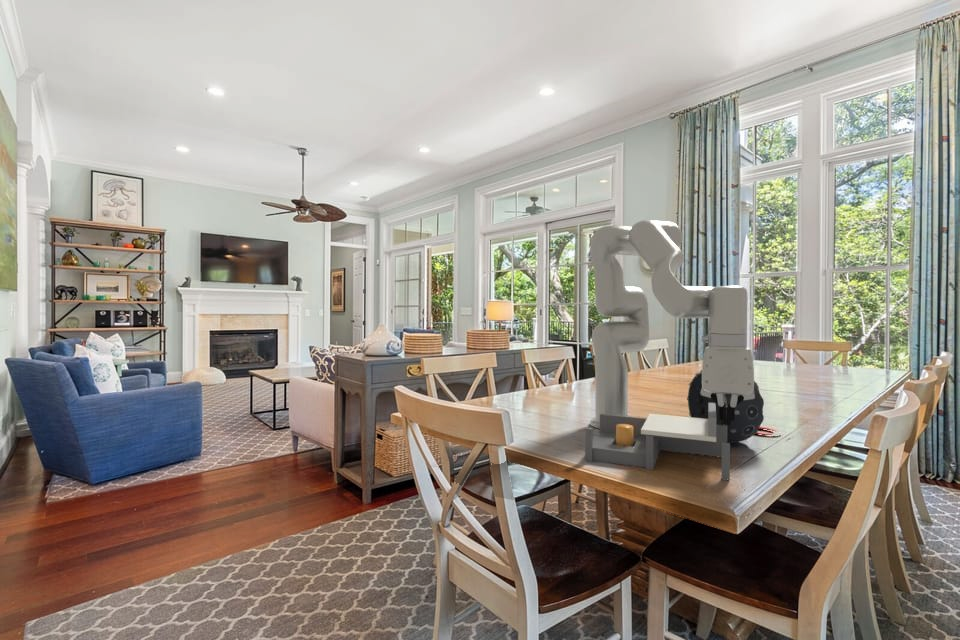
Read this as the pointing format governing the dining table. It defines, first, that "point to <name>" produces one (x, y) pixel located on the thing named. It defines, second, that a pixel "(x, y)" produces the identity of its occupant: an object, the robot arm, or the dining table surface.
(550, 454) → the dining table surface
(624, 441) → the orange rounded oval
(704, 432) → the lid
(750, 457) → the dining table surface
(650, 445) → the housing
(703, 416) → the studded black wheel
